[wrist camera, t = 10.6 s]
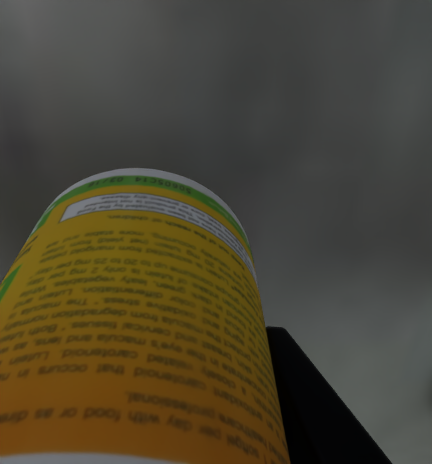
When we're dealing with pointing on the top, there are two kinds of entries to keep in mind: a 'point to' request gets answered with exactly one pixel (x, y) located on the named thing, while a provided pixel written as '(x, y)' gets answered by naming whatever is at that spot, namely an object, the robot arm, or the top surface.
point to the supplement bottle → (136, 332)
